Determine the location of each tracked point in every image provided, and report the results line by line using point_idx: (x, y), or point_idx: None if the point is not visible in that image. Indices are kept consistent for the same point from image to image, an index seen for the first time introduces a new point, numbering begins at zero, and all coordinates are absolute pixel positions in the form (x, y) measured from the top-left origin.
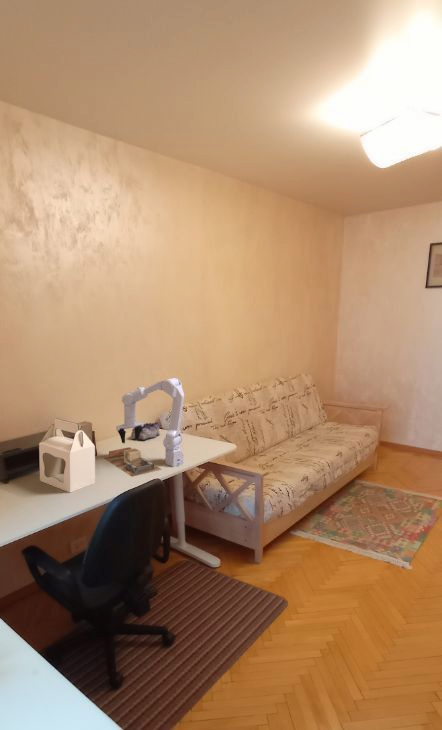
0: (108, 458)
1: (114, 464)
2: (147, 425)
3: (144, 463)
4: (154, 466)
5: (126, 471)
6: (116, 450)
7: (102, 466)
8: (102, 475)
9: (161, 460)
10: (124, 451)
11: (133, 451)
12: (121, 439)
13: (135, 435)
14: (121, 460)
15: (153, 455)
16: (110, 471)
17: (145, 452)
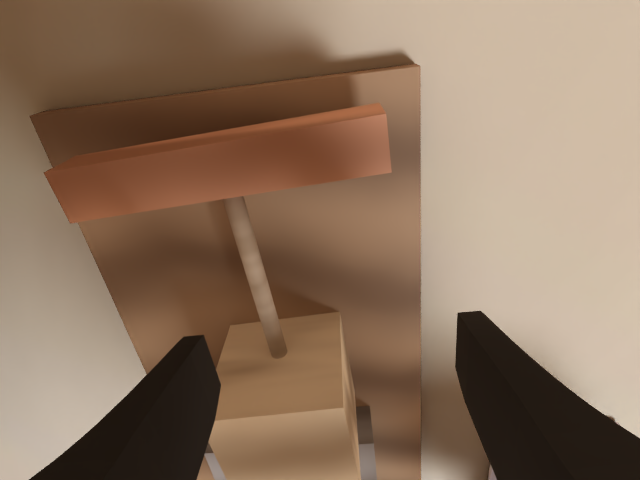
0: None
1: (137, 339)
2: None
3: None
4: (407, 474)
5: (203, 470)
6: (153, 182)
7: (40, 286)
8: (49, 427)
9: (549, 367)
10: None
11: (289, 476)
12: (149, 382)
13: (496, 387)
14: (215, 280)
15: (591, 226)
16: (106, 395)
17: (599, 76)
